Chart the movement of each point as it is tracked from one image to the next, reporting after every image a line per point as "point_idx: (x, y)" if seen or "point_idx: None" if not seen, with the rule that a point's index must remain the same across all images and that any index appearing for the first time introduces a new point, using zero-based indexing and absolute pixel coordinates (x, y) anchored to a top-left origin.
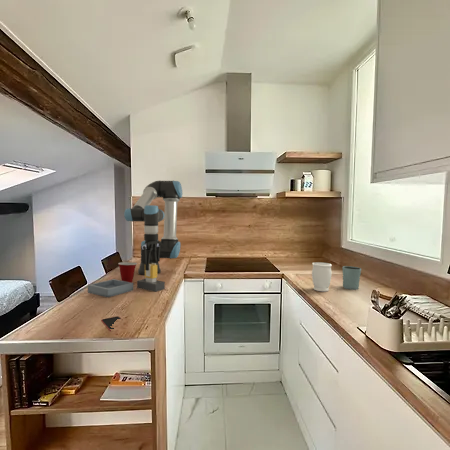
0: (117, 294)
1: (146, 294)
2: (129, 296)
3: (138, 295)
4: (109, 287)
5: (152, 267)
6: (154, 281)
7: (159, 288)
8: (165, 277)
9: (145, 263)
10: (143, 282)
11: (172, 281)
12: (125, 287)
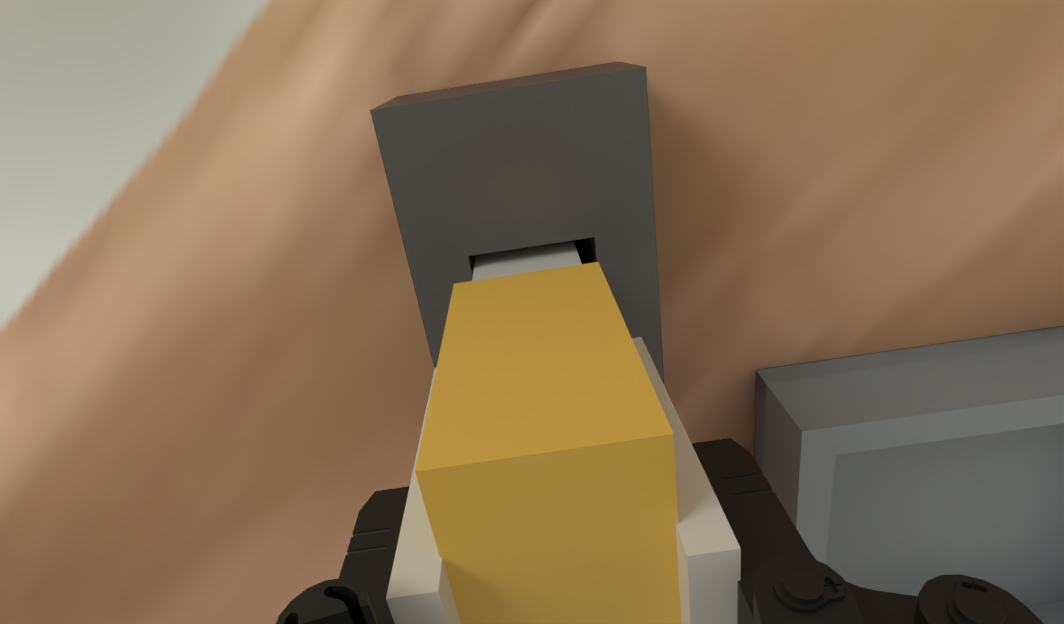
0: (1025, 334)
1: (813, 48)
2: (1018, 155)
3: (918, 99)
4: (884, 585)
5: (658, 408)
6: (520, 265)
7: (528, 77)
8: (37, 594)
9: (1005, 594)
10: (661, 372)
11: (40, 377)
12: (935, 388)
